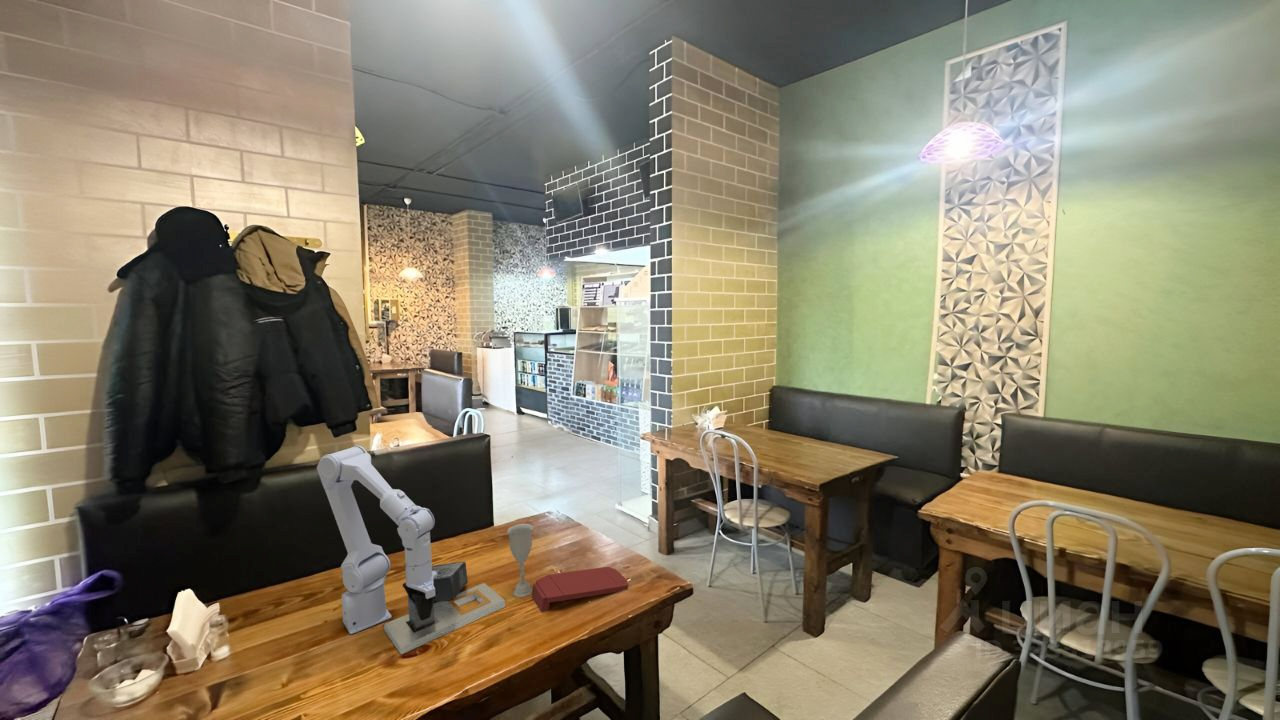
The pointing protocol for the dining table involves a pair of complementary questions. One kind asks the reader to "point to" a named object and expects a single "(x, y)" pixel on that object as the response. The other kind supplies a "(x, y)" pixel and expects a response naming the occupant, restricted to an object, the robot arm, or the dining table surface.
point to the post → (415, 618)
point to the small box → (449, 580)
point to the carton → (576, 585)
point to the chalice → (521, 553)
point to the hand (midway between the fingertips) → (421, 613)
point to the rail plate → (445, 618)
